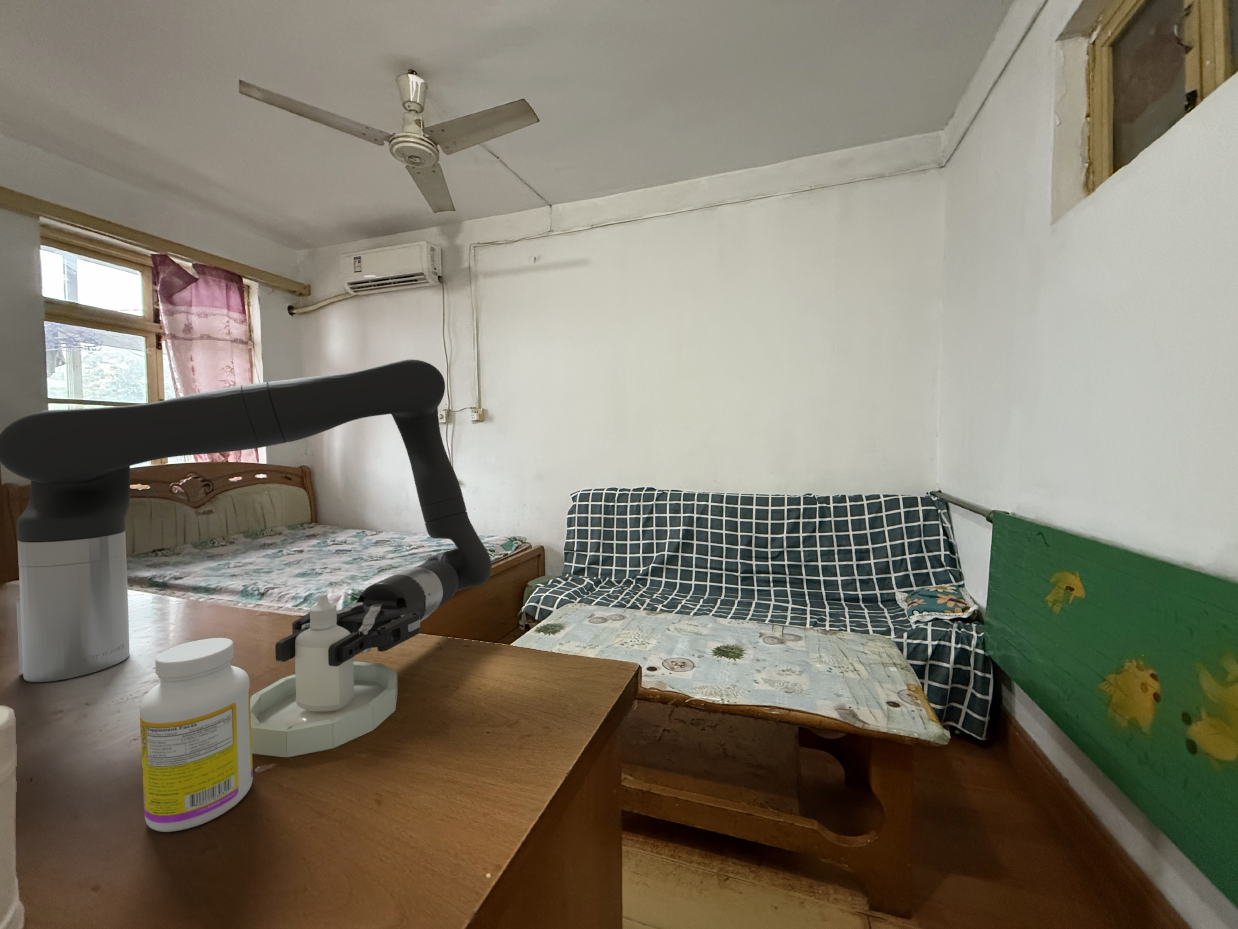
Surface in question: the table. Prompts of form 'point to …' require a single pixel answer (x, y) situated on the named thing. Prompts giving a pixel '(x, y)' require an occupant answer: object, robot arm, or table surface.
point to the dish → (320, 714)
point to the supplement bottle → (195, 736)
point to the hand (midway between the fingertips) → (305, 655)
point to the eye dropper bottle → (322, 662)
